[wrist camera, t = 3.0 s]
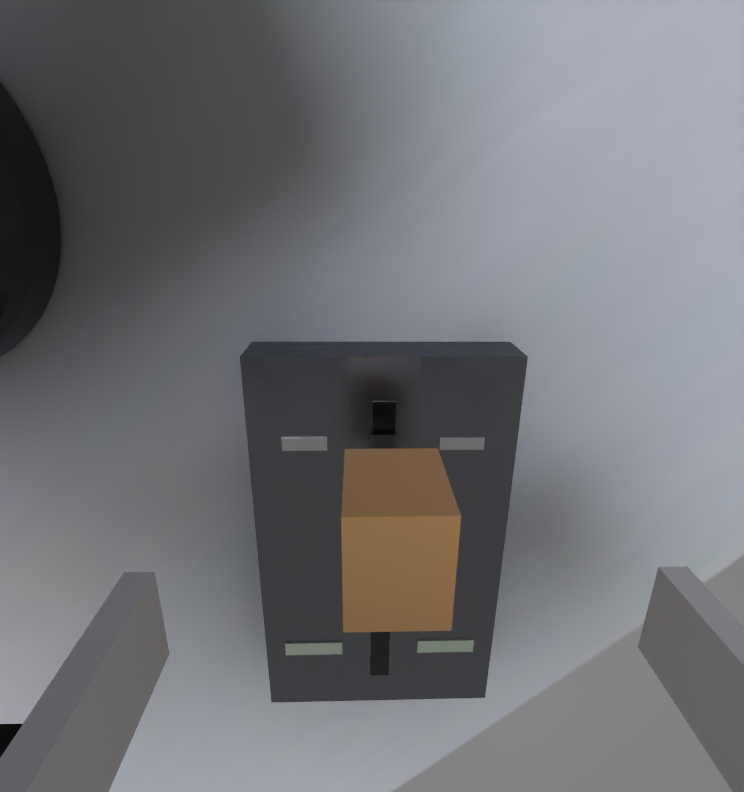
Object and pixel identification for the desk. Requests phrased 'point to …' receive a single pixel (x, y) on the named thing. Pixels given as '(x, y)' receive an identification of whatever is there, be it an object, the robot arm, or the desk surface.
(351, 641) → the panel
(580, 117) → the desk surface
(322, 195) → the desk surface
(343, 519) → the dimmer fader
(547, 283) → the desk surface
